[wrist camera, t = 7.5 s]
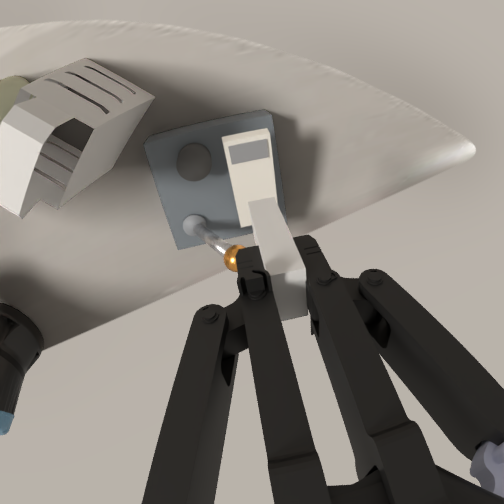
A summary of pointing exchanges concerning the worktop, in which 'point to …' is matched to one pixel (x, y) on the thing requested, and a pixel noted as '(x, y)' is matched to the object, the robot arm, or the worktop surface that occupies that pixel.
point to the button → (194, 162)
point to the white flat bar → (250, 169)
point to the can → (10, 93)
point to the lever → (219, 245)
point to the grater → (39, 132)
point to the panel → (213, 185)
